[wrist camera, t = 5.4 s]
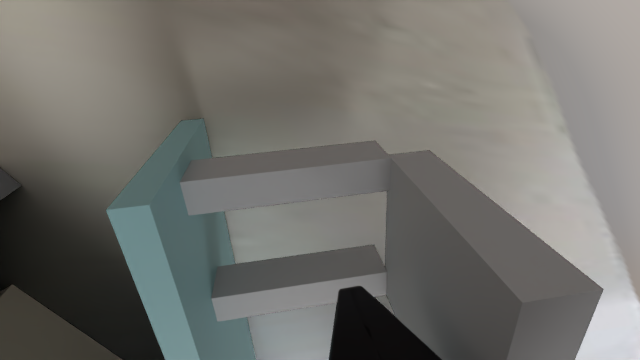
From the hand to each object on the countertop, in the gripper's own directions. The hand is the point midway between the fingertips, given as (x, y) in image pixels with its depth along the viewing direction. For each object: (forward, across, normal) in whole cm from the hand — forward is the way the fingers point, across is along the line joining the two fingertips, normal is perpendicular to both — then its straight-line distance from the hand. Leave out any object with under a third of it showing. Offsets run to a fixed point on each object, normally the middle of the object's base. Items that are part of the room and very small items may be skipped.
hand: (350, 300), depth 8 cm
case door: (+7, +1, +4) cm, 8 cm away
